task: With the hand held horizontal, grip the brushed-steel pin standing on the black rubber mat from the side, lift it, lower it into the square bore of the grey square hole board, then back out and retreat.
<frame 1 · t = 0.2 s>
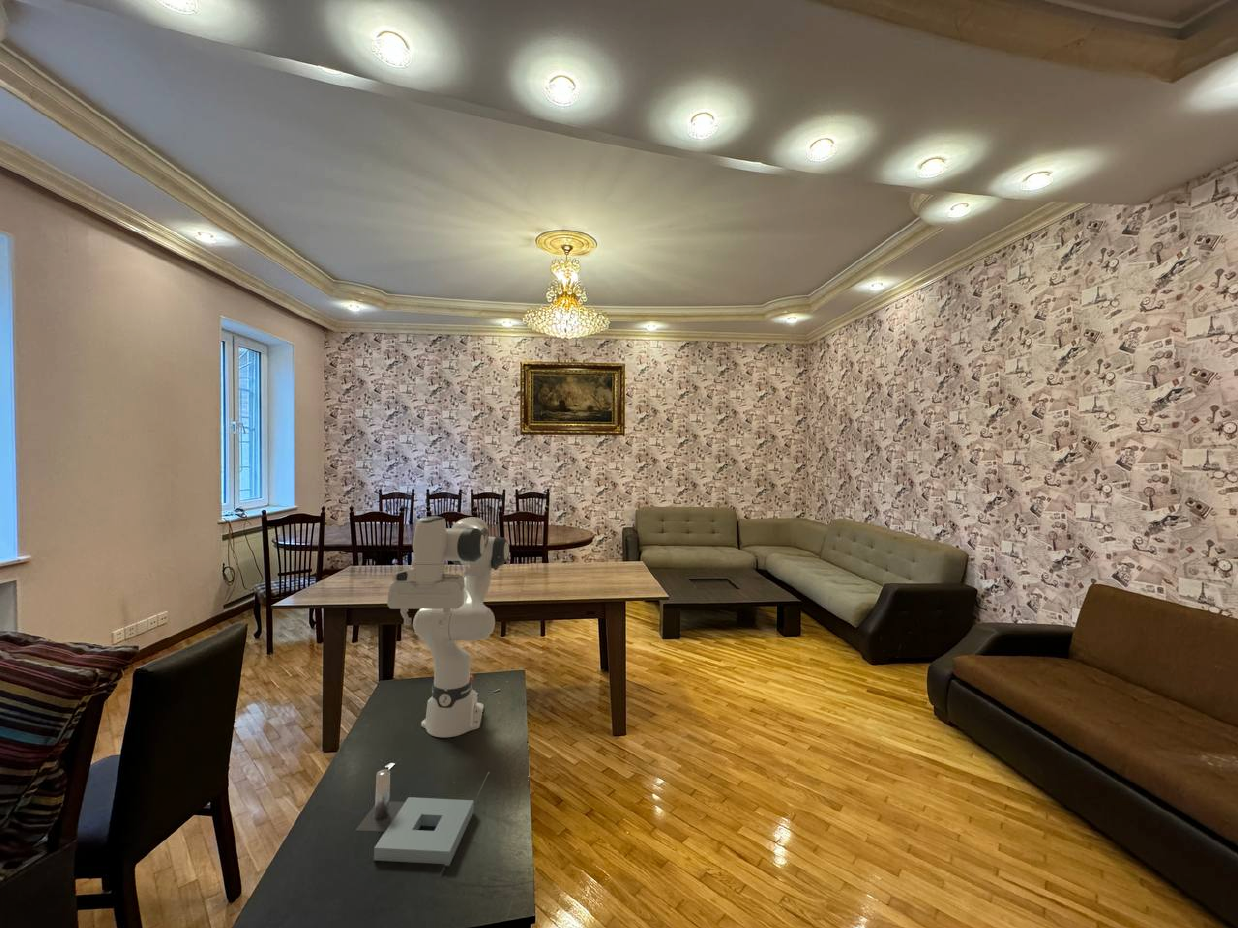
hand: (424, 625, 136), 40 cm above the table, tool pointing down, fingers open, 8 cm apart
steel pin: (381, 815, 116), resting on rubber mat
rubber mat: (381, 817, 116), on the table
grey square hole board: (427, 835, 111), on the table
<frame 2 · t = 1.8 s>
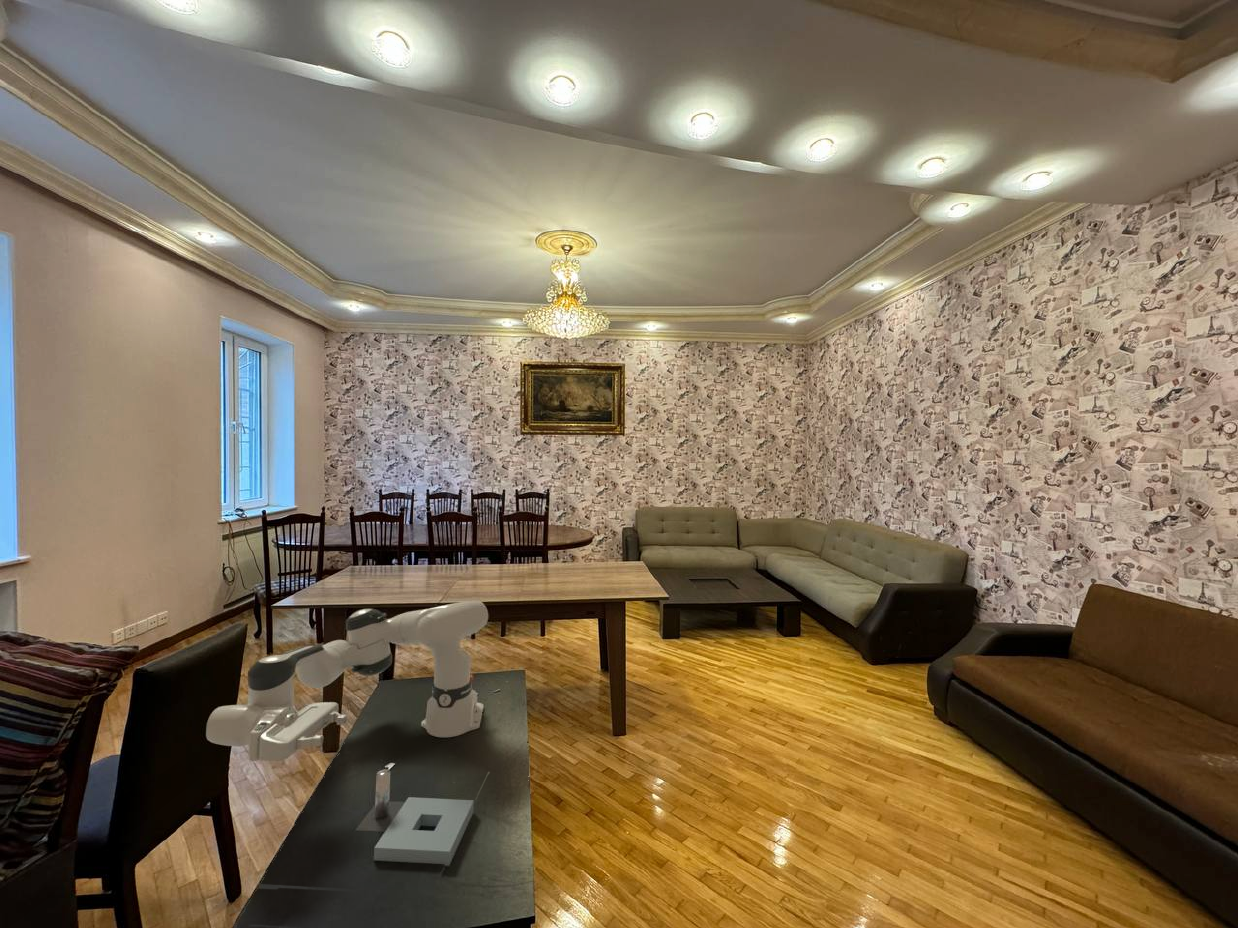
hand: (334, 730, 117), 20 cm above the table, tool horizontal, fingers open, 8 cm apart
nothing on the table moved.
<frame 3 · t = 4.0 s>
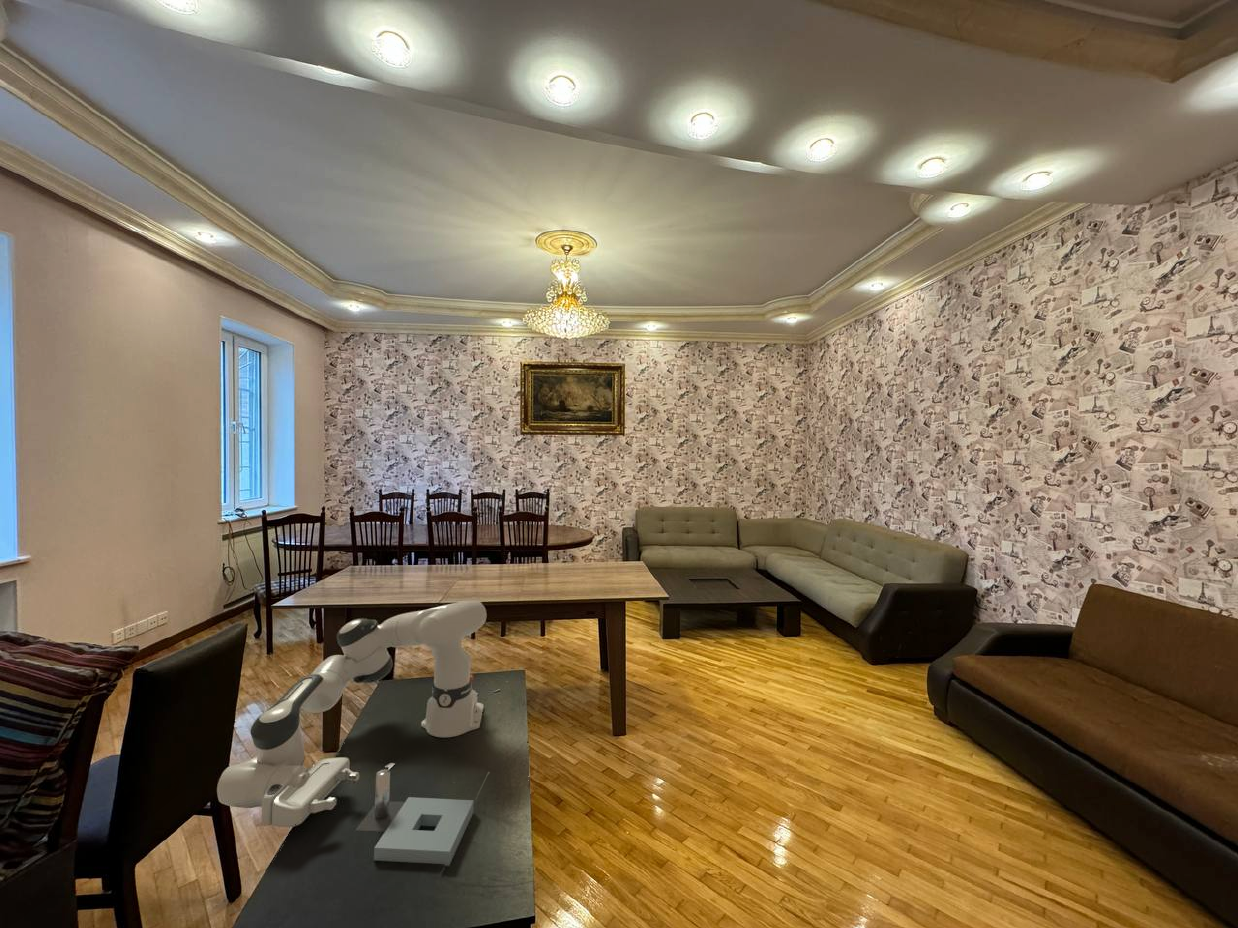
hand: (346, 790, 116), 6 cm above the table, tool horizontal, fingers open, 8 cm apart
nothing on the table moved.
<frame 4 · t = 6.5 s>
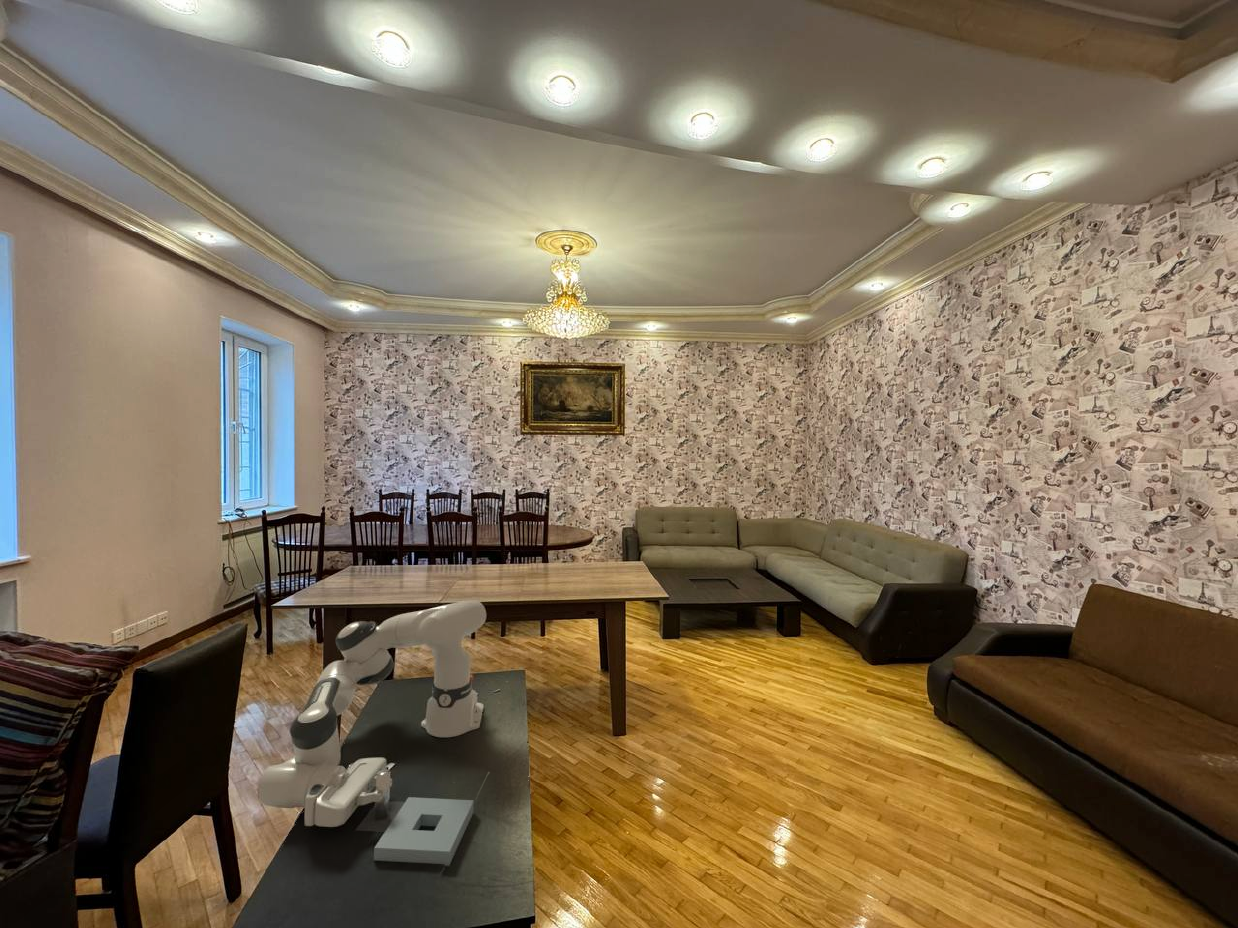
hand: (386, 789, 116), 6 cm above the table, tool horizontal, fingers closed on steel pin, 3 cm apart
steel pin: (381, 815, 116), resting on rubber mat, touching gripper
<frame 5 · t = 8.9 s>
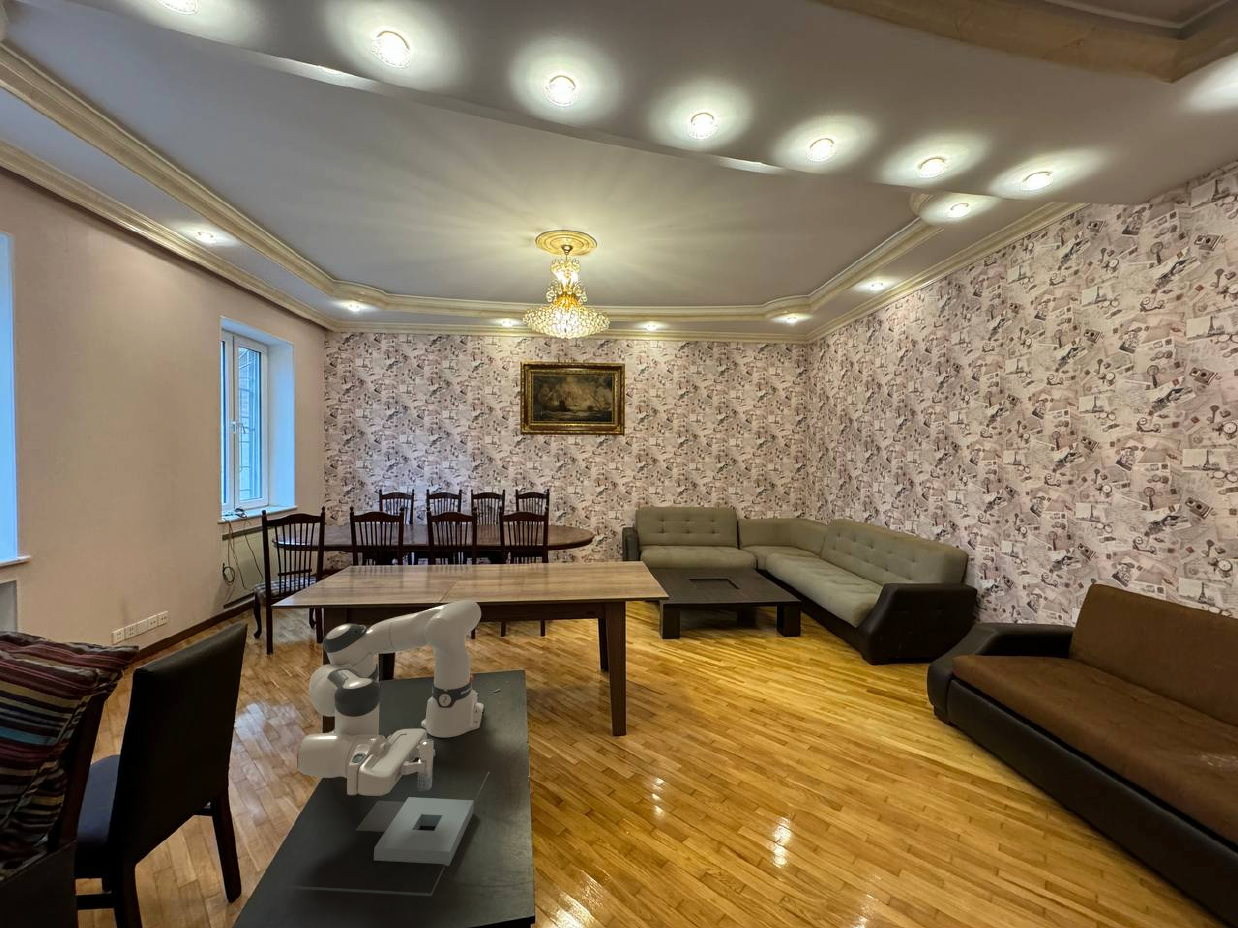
hand: (429, 760, 111), 17 cm above the table, tool horizontal, fingers closed on steel pin, 3 cm apart
steel pin: (424, 786, 111), point 11 cm above the table, touching gripper
when the fingers open (8 cm above the table, at t = 11.5 s): steel pin drops 2 cm, resting in grey square hole board.
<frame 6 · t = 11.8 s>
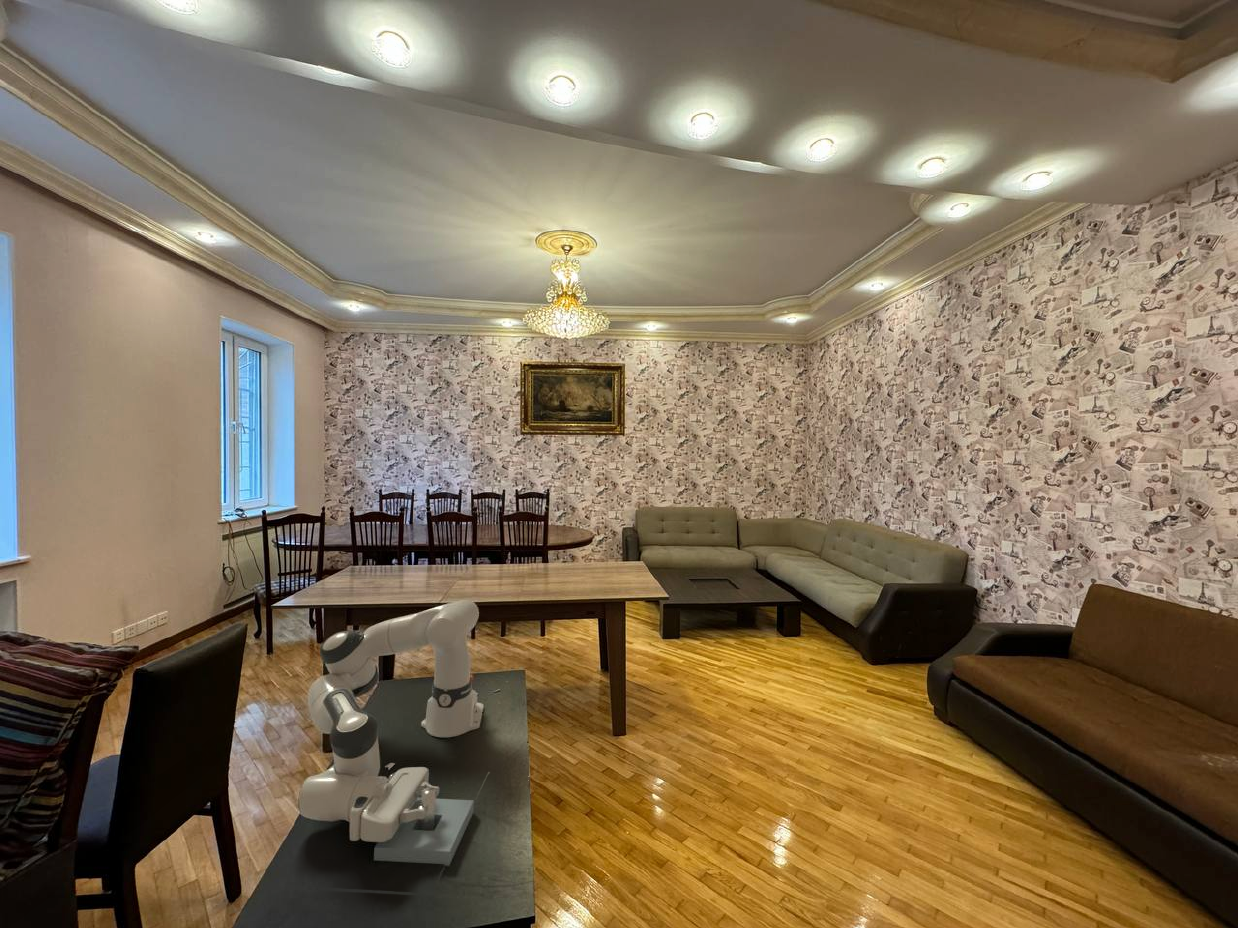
hand: (432, 802, 111), 8 cm above the table, tool horizontal, fingers open, 5 cm apart
steel pin: (426, 835, 111), resting in grey square hole board
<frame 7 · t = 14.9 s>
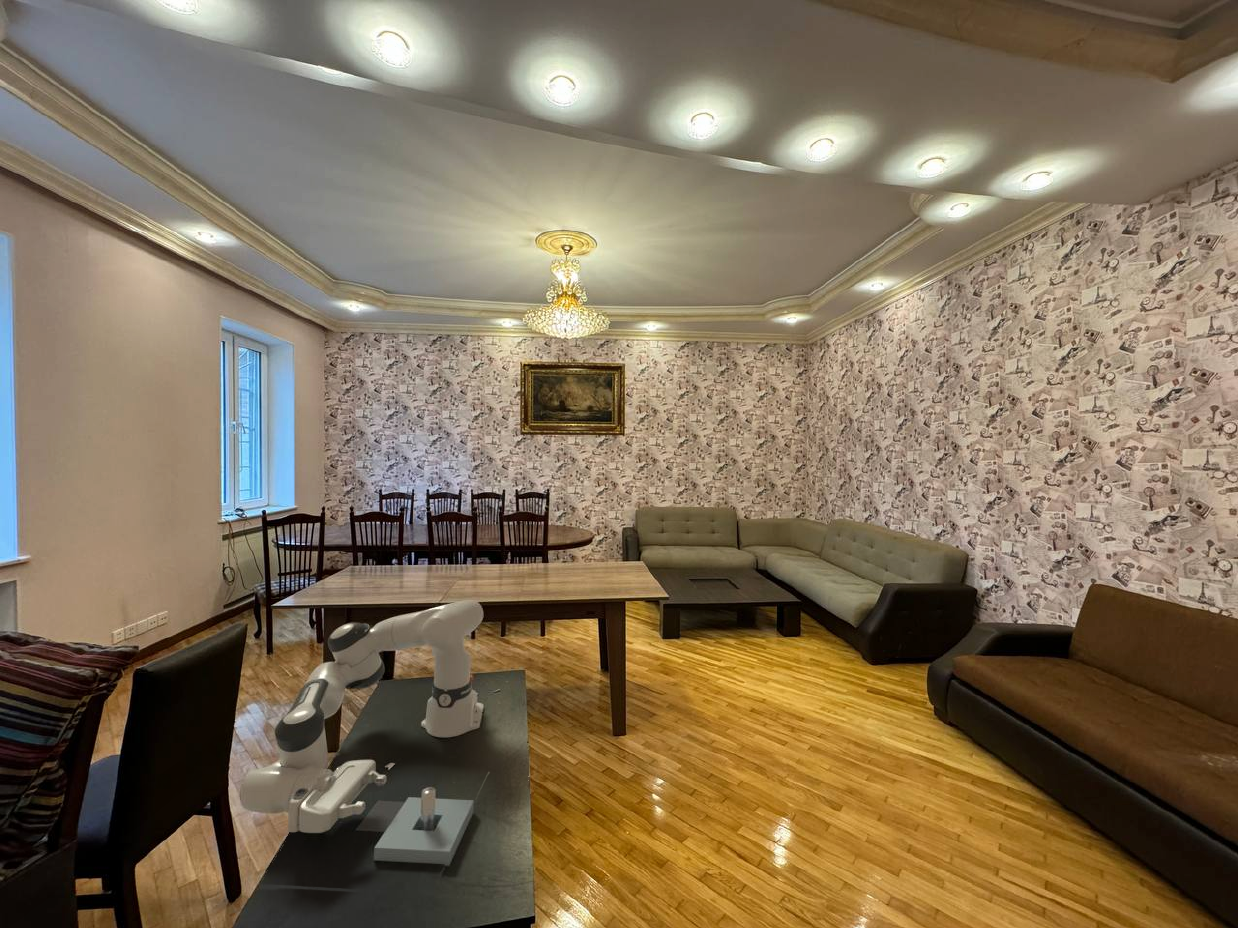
hand: (374, 793, 111), 9 cm above the table, tool horizontal, fingers open, 8 cm apart
nothing on the table moved.
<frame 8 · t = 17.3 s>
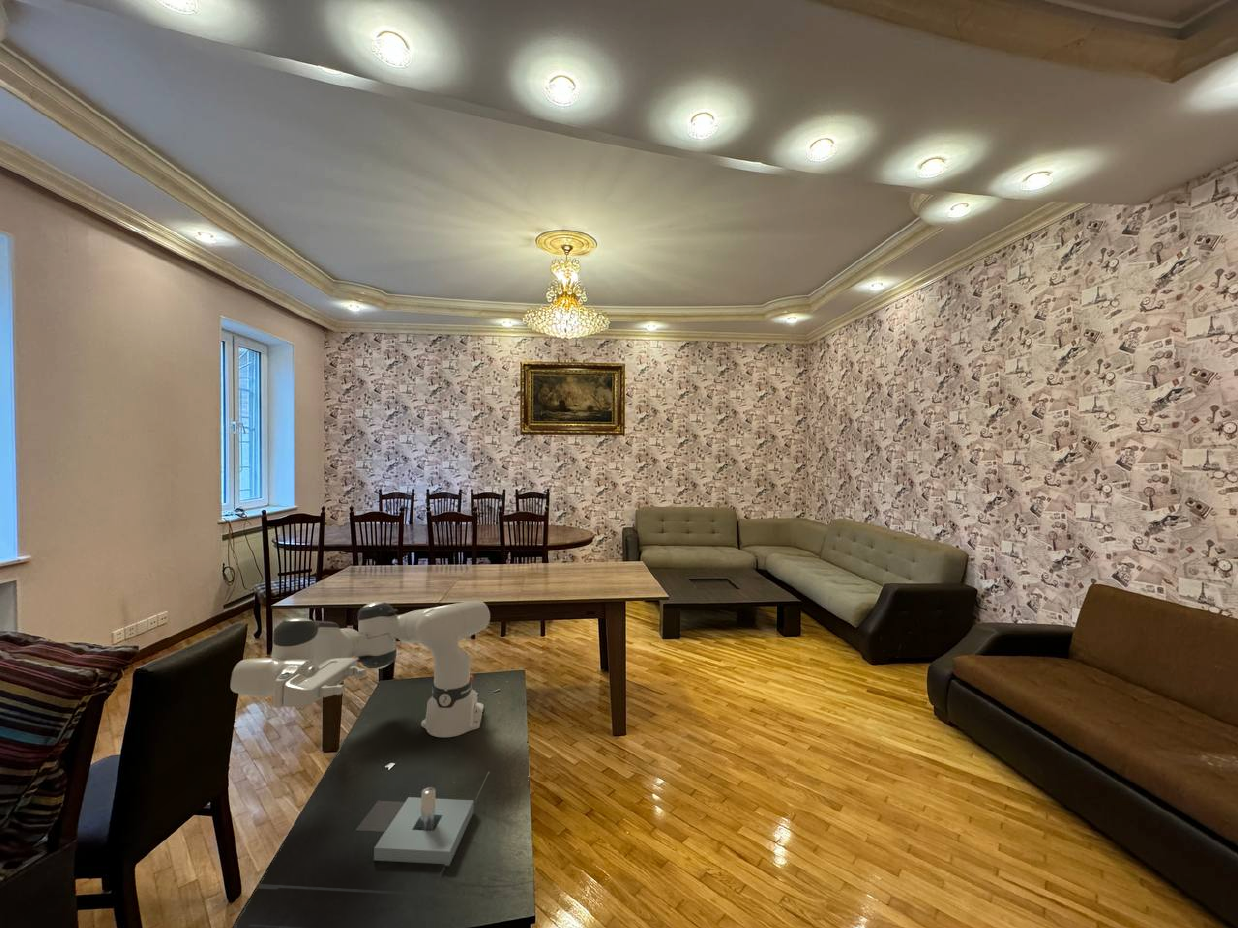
hand: (354, 681, 121), 30 cm above the table, tool horizontal, fingers open, 8 cm apart
nothing on the table moved.
at the end: steel pin 0.0 cm off-centre on the grey square hole board, point 0.0 cm above the grey square hole board's base; steel pin tilted 0°; the gripper is holding nothing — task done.
